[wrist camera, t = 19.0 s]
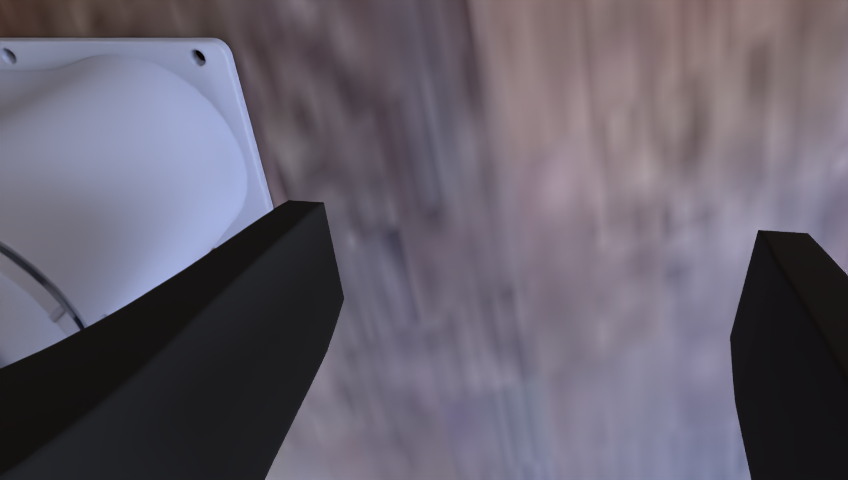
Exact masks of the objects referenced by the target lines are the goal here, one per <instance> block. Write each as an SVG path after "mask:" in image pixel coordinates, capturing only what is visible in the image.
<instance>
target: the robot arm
mask: <svg viewBox="0 0 848 480" xmlns="http://www.w3.org/2000/svg"><path fill="white" fill-rule="evenodd" d="M196 50H199V51H200V52H201V53H203V55H204V57H205V61H203V60H201V59H200V58H199V57H198V56H197V54H196ZM11 52H13V54H14V55H15V57H14V56H13V54H12V53H11ZM212 248H215V249H214V250H212V251H211V252H210V250H211V249H212ZM343 301H344V296H343V291H342V286H341V282H340V277H339V272H338V267H337V263H336V258H335V253H334V249H333V244H332V239H331V235H330V230H329V225H328V220H327V216H326V211H325V206H324V203H323V202H308V201H292V200H288V201H287V202H285V203H283V204H281V205H280V206H278V207H276V208H275V209H274V208H273V204H272V201H271V197H270V193H269V189H268V186H267V182H266V178H265V174H264V171H263V167H262V163H261V160H260V156H259V152H258V148H257V145H256V141H255V137H254V134H253V130H252V126H251V122H250V119H249V115H248V111H247V107H246V104H245V100H244V96H243V93H242V89H241V85H240V81H239V78H238V74H237V70H236V66H235V63H234V59H233V55H232V52H231V50H230V48H229V47H228V46H227V44H226V43H225V42H223V41H221V40H220V39H217V38H0V480H265V478H266V476H267V474H268V472H269V469H270V467H271V465H272V463H273V461H274V459H275V457H276V455H277V453H278V451H279V449H280V447H281V445H282V443H283V441H284V439H285V437H286V435H287V433H288V431H289V429H290V427H291V425H292V422H293V420H294V418H295V416H296V414H297V412H298V410H299V408H300V406H301V404H302V402H303V400H304V398H305V396H306V394H307V392H308V390H309V388H310V386H311V384H312V382H313V380H314V378H315V376H316V373H317V371H318V369H319V367H320V365H321V363H322V361H323V359H324V357H325V354H326V352H327V350H328V347H329V344H330V341H331V338H332V335H333V332H334V329H335V326H336V323H337V320H338V317H339V313H340V310H341V307H342V304H343ZM730 342H731V357H732V372H733V384H734V396H735V404H736V409H737V414H738V419H739V423H740V428H741V433H742V438H743V443H744V447H745V452H746V457H747V461H748V466H749V471H750V475H751V480H848V275H847V274H846V273H845V272H844V271H843V270H842V269H841V268H840V267H839V266H838V265H837V264H836V262H835V261H834V260H833V259H832V258H831V257H830V256H829V255H828V254H827V253H826V252H825V251H824V250H823V249H822V248H821V246H820V245H819V244H818V243H817V242H816V241H815V240H814V239H813V238H812V237H811V236H810V235H809V234H808V233H795V232H779V231H763V230H758V233H757V237H756V241H755V245H754V248H753V252H752V256H751V260H750V264H749V267H748V271H747V275H746V279H745V283H744V286H743V290H742V294H741V298H740V302H739V305H738V309H737V313H736V317H735V321H734V324H733V328H732V332H731V336H730Z"/></svg>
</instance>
